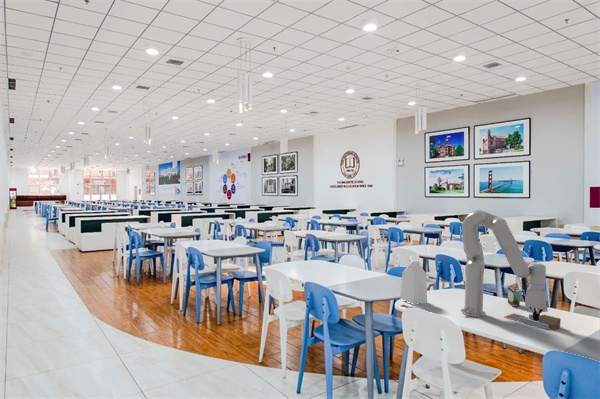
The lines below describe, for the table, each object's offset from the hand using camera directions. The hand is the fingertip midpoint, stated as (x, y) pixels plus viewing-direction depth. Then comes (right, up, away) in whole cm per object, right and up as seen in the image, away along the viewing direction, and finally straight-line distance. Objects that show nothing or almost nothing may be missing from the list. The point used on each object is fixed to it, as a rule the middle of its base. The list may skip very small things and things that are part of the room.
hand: (536, 320), depth 209 cm
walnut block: (+4, -2, -5) cm, 7 cm away
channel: (+1, -2, -1) cm, 2 cm away
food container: (+7, -1, +32) cm, 33 cm away
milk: (-55, 0, +38) cm, 67 cm away
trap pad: (-6, -1, +9) cm, 11 cm away
